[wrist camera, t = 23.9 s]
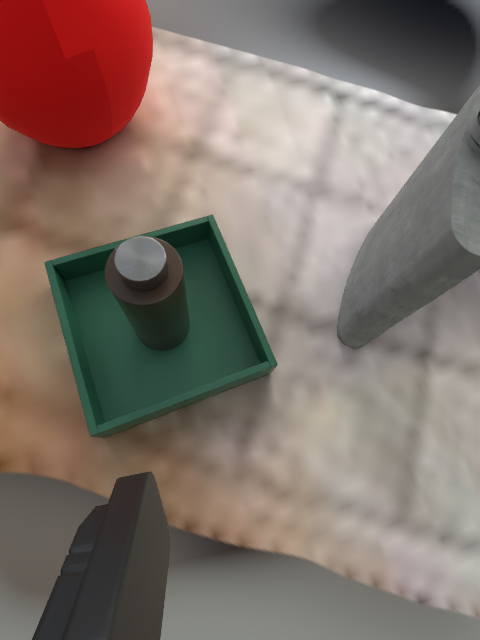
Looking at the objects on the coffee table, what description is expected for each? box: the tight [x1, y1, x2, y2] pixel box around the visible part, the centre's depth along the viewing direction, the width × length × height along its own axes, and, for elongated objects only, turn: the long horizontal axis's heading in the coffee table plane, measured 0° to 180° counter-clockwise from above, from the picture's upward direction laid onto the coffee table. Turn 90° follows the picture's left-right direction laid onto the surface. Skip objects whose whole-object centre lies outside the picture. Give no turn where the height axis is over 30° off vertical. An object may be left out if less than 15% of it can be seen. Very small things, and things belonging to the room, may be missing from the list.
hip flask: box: [337, 85, 480, 348], centre depth 28 cm, size 16×4×20 cm, turn 156°
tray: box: [45, 215, 277, 438], centre depth 32 cm, size 15×15×4 cm
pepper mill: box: [105, 236, 190, 351], centre depth 27 cm, size 5×5×12 cm
